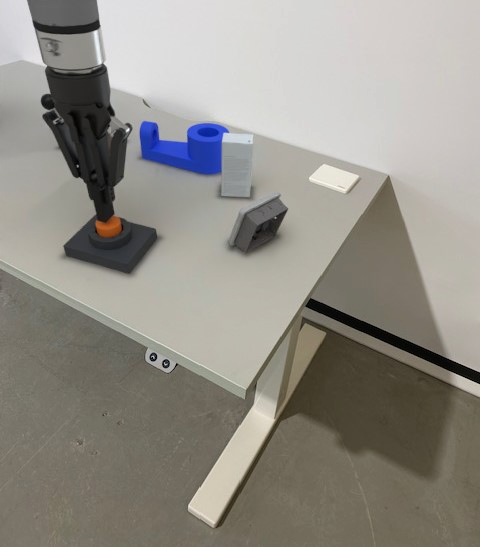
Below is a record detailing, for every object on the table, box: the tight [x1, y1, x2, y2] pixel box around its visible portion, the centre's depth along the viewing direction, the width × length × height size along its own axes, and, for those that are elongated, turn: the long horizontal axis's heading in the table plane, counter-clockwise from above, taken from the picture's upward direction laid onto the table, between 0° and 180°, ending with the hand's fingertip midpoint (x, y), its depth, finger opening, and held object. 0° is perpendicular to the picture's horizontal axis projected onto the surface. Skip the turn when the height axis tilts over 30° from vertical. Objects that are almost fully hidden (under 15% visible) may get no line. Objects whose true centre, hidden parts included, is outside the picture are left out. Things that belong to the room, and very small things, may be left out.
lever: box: [40, 93, 55, 111], centre depth 93 cm, size 14×4×4 cm, turn 72°
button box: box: [62, 214, 158, 274], centre depth 72 cm, size 12×10×4 cm
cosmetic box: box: [220, 132, 254, 199], centre depth 84 cm, size 6×4×12 cm
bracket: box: [138, 120, 230, 175], centre depth 94 cm, size 20×9×8 cm, turn 76°
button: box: [96, 215, 122, 237], centre depth 70 cm, size 4×4×2 cm
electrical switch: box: [228, 190, 289, 254], centre depth 73 cm, size 9×5×9 cm, turn 133°
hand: (106, 217), depth 69 cm, fingers closed
